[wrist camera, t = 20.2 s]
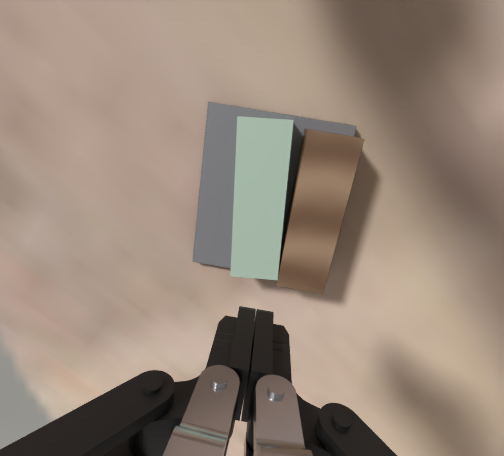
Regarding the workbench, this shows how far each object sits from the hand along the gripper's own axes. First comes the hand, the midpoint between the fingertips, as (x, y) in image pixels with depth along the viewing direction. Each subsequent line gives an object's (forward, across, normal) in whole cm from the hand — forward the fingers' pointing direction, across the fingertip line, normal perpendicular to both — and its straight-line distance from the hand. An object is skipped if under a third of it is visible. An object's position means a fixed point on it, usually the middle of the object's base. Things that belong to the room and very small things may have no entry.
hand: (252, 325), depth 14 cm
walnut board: (+22, -5, 0) cm, 23 cm away
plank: (+22, +1, 0) cm, 22 cm away
